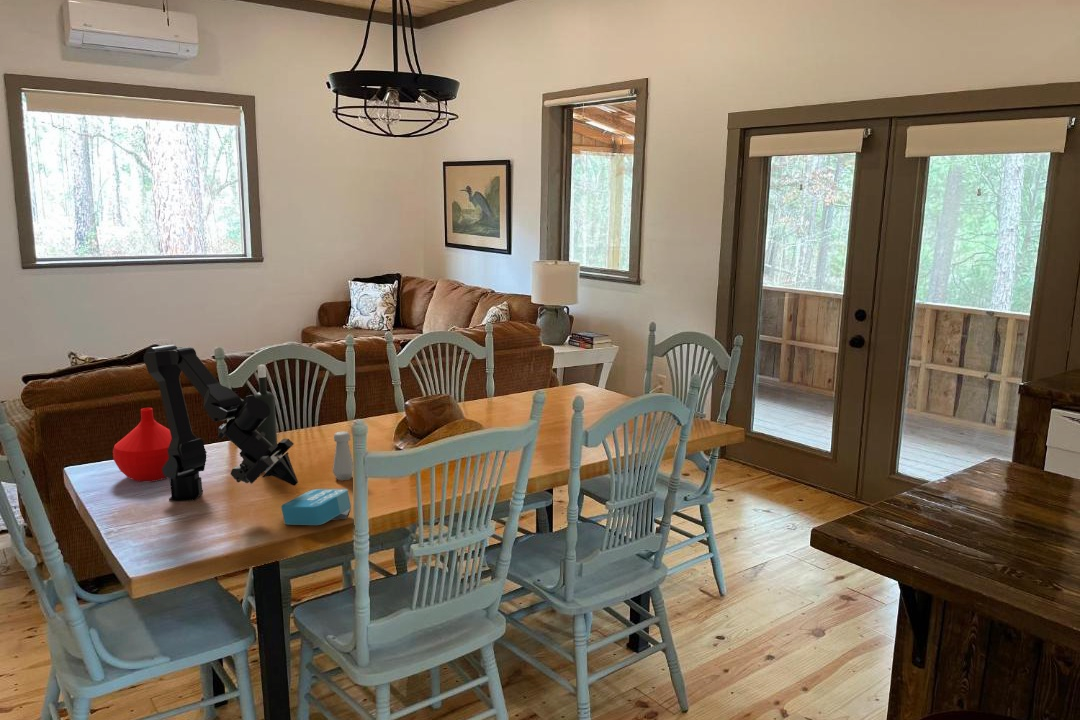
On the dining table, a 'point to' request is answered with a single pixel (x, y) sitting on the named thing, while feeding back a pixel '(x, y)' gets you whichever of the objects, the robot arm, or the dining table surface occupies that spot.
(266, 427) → the wine bottle
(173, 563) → the dining table surface
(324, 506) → the data package
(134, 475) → the vase
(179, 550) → the dining table surface
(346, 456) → the salt shaker
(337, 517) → the felt pad
